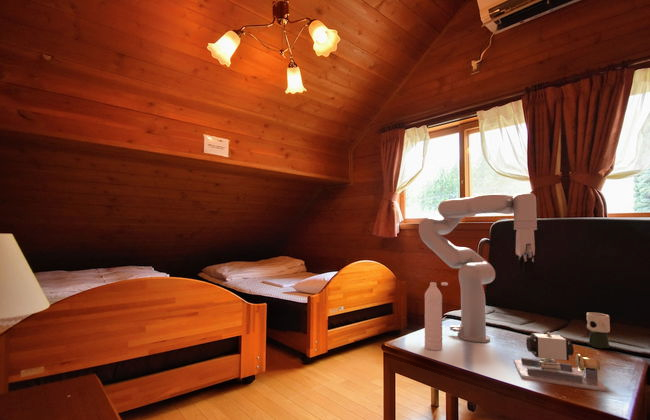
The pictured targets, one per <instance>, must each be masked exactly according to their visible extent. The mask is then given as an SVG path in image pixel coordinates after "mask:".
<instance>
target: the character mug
mask: <svg viewBox="0 0 650 420" xmlns="http://www.w3.org/2000/svg"><path fill="white" fill-rule="evenodd" d="M586 321H587V323H586V329H587V330H589V331H590V332H589V338H588V345H589V346H591V347H593V348H598V349H601V350H603V349H610V343H609V338H608V334H607V333H610V331H611V325H610V322H611V321H610V315H609V314H605V313H601V312H594V311H593V312H586Z"/></svg>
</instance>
